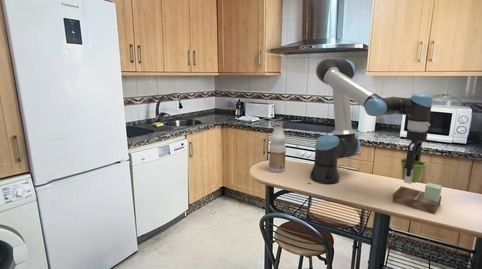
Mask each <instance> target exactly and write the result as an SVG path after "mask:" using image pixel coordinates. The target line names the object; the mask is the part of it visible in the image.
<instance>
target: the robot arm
mask: <svg viewBox="0 0 482 269" xmlns="http://www.w3.org/2000/svg"><path fill="white" fill-rule="evenodd" d="M315 74H316V77H317V78H318V79H319V81H321V82H322V84H325V85H327V86H329V87H330V88H331V89H332V99H333V100H332V102H333V114H334V130H335V131H334V132H333V133H332V135H331V134H330V135H329V134H328V135H321V136H319V137H317V138H316V140H315V145H314V147H315V148H314V164H313V167H312V169H311V172H310V176H309V177H310V179H311V181H313V182H316V183H318V184H324V185H335V184H337V183H339V181H340V175H339V171H338V160H339V159H343V158H351V157H353V156H356V155H357V154H358V153H359V151H360V149H361V141H360V139H359V137H357V136H356V132H355V131H354V130H353V127H352V126H353V125H352V115H351V114H352V112H351V100H353V102H355V103H357V104H359V105H360V106H361V107H363V108H364V111H365V113H366V114H367V115H368V116H371V117H381V116H382V117H384V116H390V115H404V116H408V119H407V120H408V121H407V130H406V137H405V138H406V139H407V140H410V142H409V144H408V145H407V152H406V158H405V159H406V163H405V167H404V168H406V171H405V178H404V180H403V183H406V184H409V185H412V176H413V165H414V161H421V155H422V154H421V153H422V146H423V142H425V141H426V140H428V131H429V127H430V126H431V124H430V119H431V118H430V116H431V112H432V107H433V96H432V95H431V94H426V93H414V94H412V95H411V97H400V96H387V97H382V96H380V95H378V94H377V93H376V92H374V91H372V90H370V89H369V88H367V87H366V86H364V85H362V84H361V83H359V82H357V81H356V80H354V78H355V75H356V67H355V64H354V63H353V62H352V61H350V60H349V59H344V58H325V59H323V60H321V61H320V62H318V64H317V66H316V69H315ZM350 99H351V100H350Z"/></svg>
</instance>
